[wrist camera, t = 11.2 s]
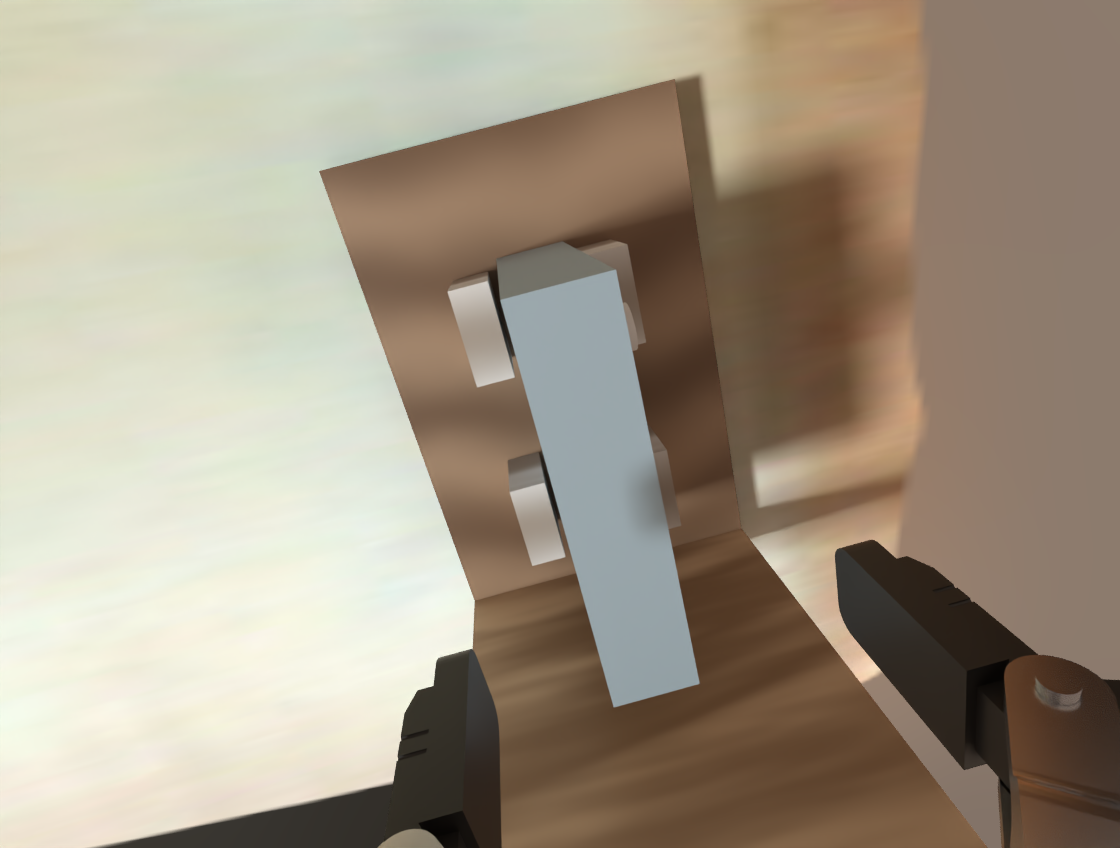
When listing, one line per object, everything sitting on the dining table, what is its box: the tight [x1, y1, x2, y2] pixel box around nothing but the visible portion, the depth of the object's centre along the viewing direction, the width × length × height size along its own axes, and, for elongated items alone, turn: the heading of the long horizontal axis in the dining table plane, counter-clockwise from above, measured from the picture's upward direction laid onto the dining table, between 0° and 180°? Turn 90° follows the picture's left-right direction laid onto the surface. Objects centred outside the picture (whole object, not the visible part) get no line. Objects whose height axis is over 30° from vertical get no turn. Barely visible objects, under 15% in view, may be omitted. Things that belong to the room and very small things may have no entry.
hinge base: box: [319, 79, 987, 848], centre depth 19 cm, size 24×15×24 cm, turn 14°
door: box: [496, 241, 700, 707], centre depth 23 cm, size 14×4×12 cm, turn 14°
